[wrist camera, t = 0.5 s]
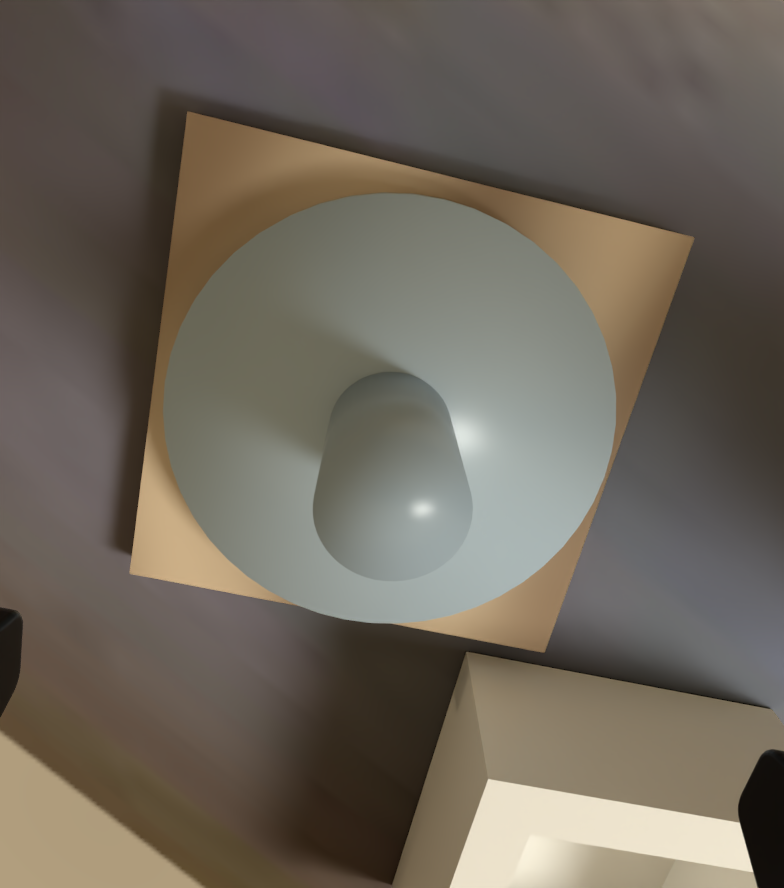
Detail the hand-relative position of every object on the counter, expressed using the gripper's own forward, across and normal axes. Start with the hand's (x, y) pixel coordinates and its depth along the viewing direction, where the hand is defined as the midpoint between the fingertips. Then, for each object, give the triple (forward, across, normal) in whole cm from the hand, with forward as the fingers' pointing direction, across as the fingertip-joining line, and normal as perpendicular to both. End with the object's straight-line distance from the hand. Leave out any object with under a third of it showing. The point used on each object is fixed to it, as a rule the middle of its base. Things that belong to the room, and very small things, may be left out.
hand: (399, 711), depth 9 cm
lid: (+11, 0, 0) cm, 11 cm away
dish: (+12, -9, +12) cm, 19 cm away
